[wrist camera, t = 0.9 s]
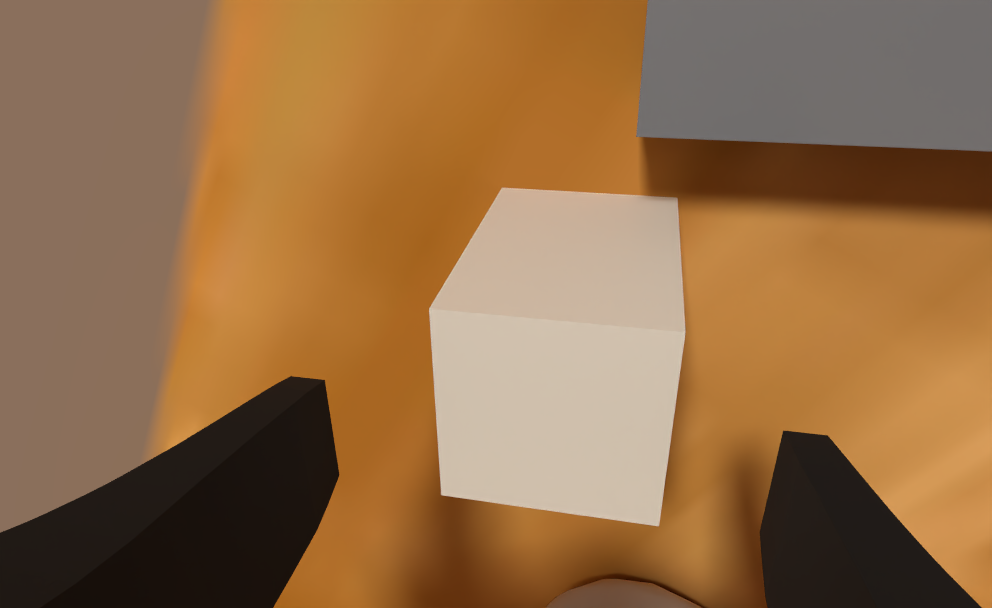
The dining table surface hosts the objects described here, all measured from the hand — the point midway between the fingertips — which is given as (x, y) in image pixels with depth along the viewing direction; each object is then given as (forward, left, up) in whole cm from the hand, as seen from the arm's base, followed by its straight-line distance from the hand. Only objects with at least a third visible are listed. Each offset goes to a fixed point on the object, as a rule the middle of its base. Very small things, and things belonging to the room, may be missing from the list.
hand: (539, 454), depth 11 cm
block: (0, 0, -7) cm, 7 cm away
